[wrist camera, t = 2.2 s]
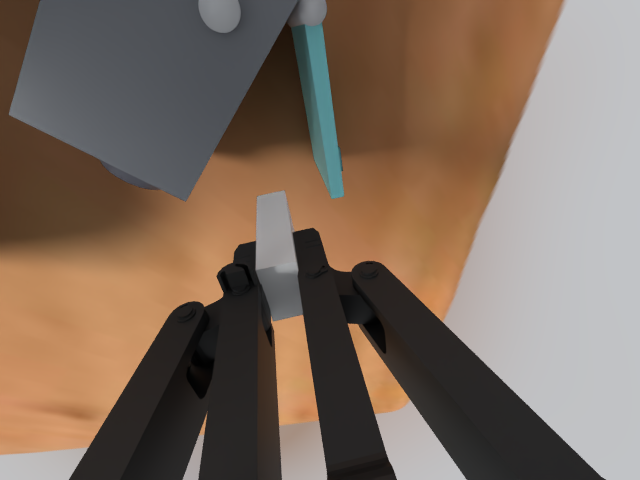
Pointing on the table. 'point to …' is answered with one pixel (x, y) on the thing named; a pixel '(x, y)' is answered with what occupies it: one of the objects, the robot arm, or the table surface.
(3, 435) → the table surface
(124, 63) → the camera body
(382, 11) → the table surface
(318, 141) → the teal flat slab
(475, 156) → the table surface
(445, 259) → the table surface
